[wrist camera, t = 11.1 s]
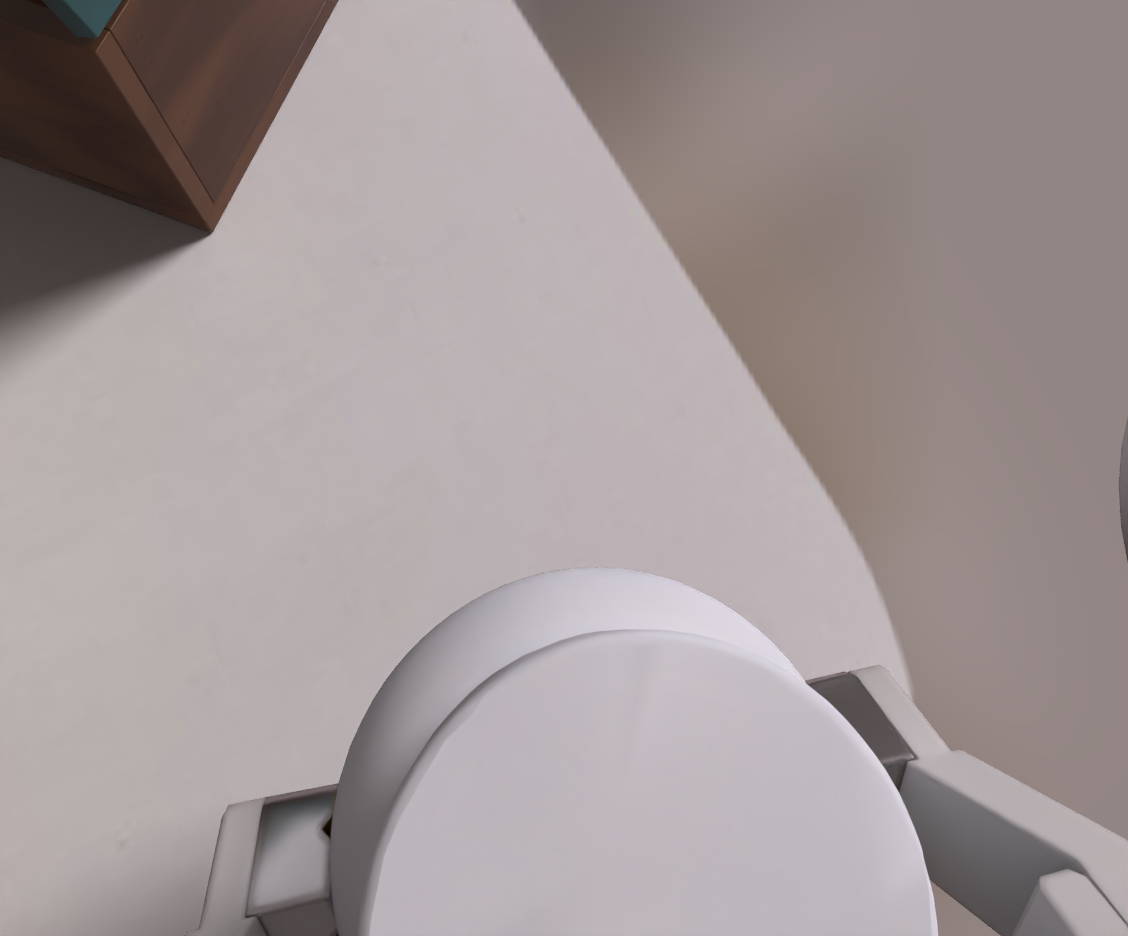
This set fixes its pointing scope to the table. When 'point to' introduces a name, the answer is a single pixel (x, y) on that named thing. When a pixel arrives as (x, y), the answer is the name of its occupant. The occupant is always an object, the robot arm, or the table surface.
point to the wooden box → (152, 95)
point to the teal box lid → (84, 15)
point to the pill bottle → (615, 780)
